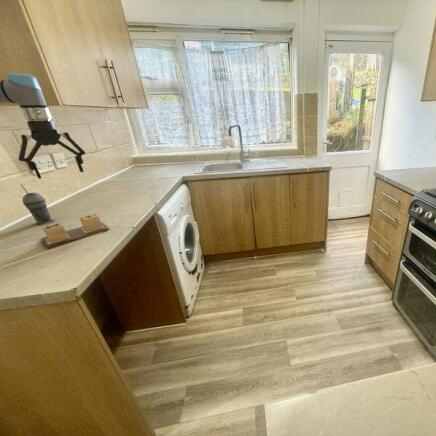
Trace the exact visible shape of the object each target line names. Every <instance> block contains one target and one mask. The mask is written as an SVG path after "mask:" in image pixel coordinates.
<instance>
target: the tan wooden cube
mask: <svg viewBox="0 0 436 436" xmlns="http://www.w3.org/2000/svg"><path fill="white" fill-rule="evenodd" d="M79 220H80V222H81V225H82V227H84V229H85V230H86V231H87V232H89V231H92V230H96V229H99V228H102V225H103V224H102V222H101V219H100V217H99V215H97V214H96V213H91V214H87V215H83V216H79ZM101 224H102V225H101Z"/></svg>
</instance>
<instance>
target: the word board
mask: <svg viewBox="0 0 436 436" xmlns="http://www.w3.org/2000/svg"><path fill="white" fill-rule="evenodd" d="M101 225H102V228H99V229H96V230H92V231H89V232H87V231H86V230H85V229H84V227H83V226H80V227H77V228H73V229H70V230H65V231H66V234H67V236H68V238H66V239H62V240H59V241H56V242H52V243H50V241H49V240H48V238H47V236H45V237H42V241H43V243H44V244H45V246H46V247H47V249H48V250H51V249H55V248H57V247H60V246H63V245H66V244H69V243H73V242H76V241H79V240H82V239H85V238H87V237H91V236H94V235H97V234H100V233H104V232H108V231H109V229H108V227H107V226H105V225H104V224H103V223H101Z"/></svg>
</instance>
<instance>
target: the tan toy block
mask: <svg viewBox="0 0 436 436" xmlns="http://www.w3.org/2000/svg"><path fill="white" fill-rule="evenodd" d="M41 228H42V230H43V232H44V235H45V237H47V238H48V240H49V241H50V243H52V242H56V241H59V240H62V239H66V238H68V236H67V234H66V231H67V230H65V227H64V225H63V224H62V223H61V222H55V223H52V224H48V225H45V226H42V227H41Z"/></svg>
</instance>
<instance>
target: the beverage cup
mask: <svg viewBox="0 0 436 436" xmlns="http://www.w3.org/2000/svg"><path fill="white" fill-rule="evenodd" d="M20 186H21V187H22V189H23V190H24V192H25V193H26V194H25V195H24V196H23V197H22V204H23V205H24V206H25V207H26V209H28V211H29V213H30V214H31V216H32V217H33V219H34V220H35V221H36V222H37V224H39V225H42V224H43V225H44V224H47V223H50V222H51V221H52V217H51V214H50V212H49V209H48V205H47V203H46V199H45V198H44V196H43V195H42V194H39V193H38V192H28V190H27V189H26V187H25V186H24V185H23V184H21V183H20Z"/></svg>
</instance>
